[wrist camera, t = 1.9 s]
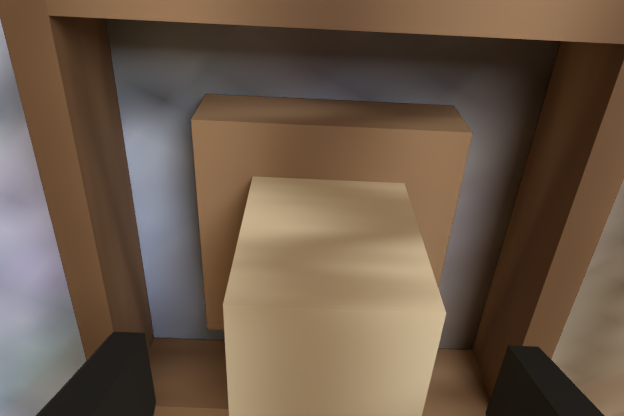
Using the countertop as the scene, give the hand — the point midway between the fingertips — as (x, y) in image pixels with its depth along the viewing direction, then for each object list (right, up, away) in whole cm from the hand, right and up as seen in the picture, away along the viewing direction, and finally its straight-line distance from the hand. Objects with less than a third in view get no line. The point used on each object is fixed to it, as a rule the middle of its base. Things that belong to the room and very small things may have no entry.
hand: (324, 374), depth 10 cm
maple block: (0, +2, +4) cm, 5 cm away
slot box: (0, +3, +6) cm, 7 cm away
